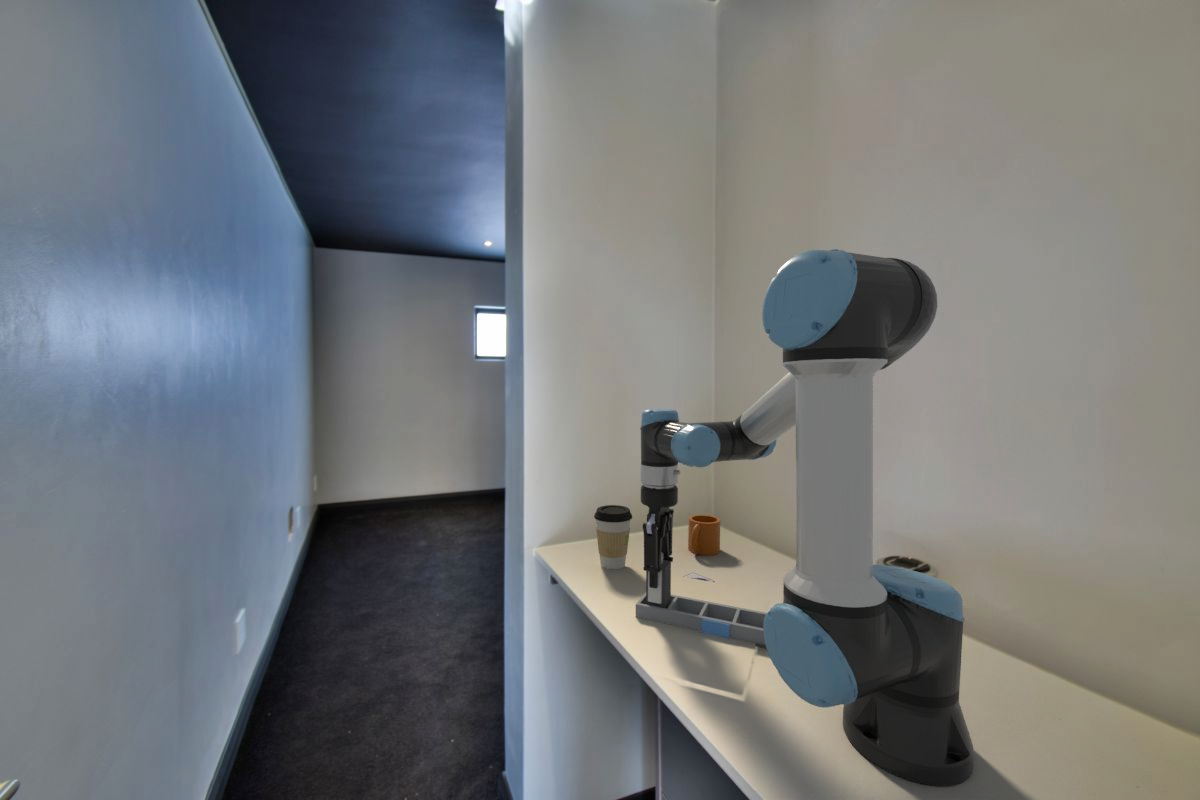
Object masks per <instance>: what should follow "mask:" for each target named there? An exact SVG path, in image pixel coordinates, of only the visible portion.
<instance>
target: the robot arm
mask: <svg viewBox="0 0 1200 800" xmlns="http://www.w3.org/2000/svg"><path fill="white" fill-rule="evenodd" d="M761 310H762V312H761V317H762V318H761V319H762V326H763V329H764V332H765V333H766V334H767V335H768V338H769V339H770V341H771V342H772V343H773V344H775V345H776V346H778V347H779V348H782V366H783V367H784V368H785V369H786V370H787V371H788V373H787V374H785V375H784V376H783V377H782V378H781V379H780V380H779V381H778V382H776V383H775V384H774V385H773V386H772V387H770V389H769V390H768V391H766V392H765V393H764V394H763V395H762V396H761V397H760V398H758V399H757V400H756V402H754V403H753V404H752V405H751V406H749V408H746V409H747V410H745V411H744V412H743V413H742V414H740V415H739V416H738V417H737V418H736V419H734V420H732V421H708V422H681V421H680V418H679V413H678V411H677V410H676V409H670V408H648V409H645V410H643V412H642V413H641V423H640V424H641V425H640V427H639V428H640V460H641V461H640V483H641V484H642V485H641V486H640V502H641V504H642V505H644V506H646V507H648V513H647V514H646V522H643V523H642V532H643V568H642V569H643V570H644V571H645V572H646V571H648V601H649V602H654V603H659V604H661V603H662V571H661V569H660V566H661V552H662V553H663V560H666V561H671V563H673V561H674V557H671V556H672V555H673V525H674V524H673V523H674V522H673V519H674V513H675V510H674V509H673V507H675V506H676V505H677V504H678V502H679V501H678V499H679V496H678V495H679V488H678V486H677V484H678V477H679V475H681V470H680V469H678V465H679V463H680V464H682V465H683V466H687V467H692V468H693V467H694V468H695V467H696V468H706V467H708V466H710V465H711V464H713V463H718V462H719V463H720V462H726V461H727V462H730V461H742V460H743V461H745V460H747V461H749V460H751V461H754V460H758V459H760V458H761V459H762V458H767V457H769V456H770V455H771V454H772V453H773V452H774V449H775V447H776V446H777V440H778V439H779V438H780V437H782V436H783V435H784V434H786V433H787V432H789V431H790V430H791V429H792V428H793V427H795V536H796V537H795V566H794V567H793V568H792V569H791V570H789V571H788V572H786V574H784V576H783V581H782V582H783V590H782V593H783V599H782V600H783V602H782V603H776V604H774V605H773V606H772V607H770V610H768V611H766V612H765V613H766V616H765V618H764V624H763V631H764V639H765V644H766V647H767V648H766V650H767V652H768V656H769V657H770V661H771V662H772V665H773V666H774V668H776V671H777V672H778V675H779V676H780V678H781V679H782V681H783V682H784V684H786V686H787V687H789V689H790V690H791V691H792V692H793V693H794V694H795V695H797V696H798V697H799V698H800V699H802V700H803V701H805V702H806V703H808V704H810V705H812V706H815V707H818V708H832V707H836V706H837V707H838V706H840V705H843V709H842V729H843V732H844V733H845V735H846V736H845V737H847V739H848V740H849V742H850V743H851V744H852V745H853V747H854V748H855V749H856V750H857V751H858V753H860V754H861V755H863V756H864V757H865V758H866V759H867V760H869V761H870V762H872V763H873V764H874V765H876V766H878V767H879V768H881V769H883V770H885V771H887V772H888V773H891V774H893V775H895V776H898V777H900V778H903V779H905V780H908V781H912V782H915V783H919V784H923V785H930V786H937V787H938V786H939V787H941V786H942V787H943V786H944V787H946V786H954V785H958V784H961V783H964V782H965V781H966V780H968V779H969V778H970V776H971V775H972V773H973V771H974V759H975V758H974V756H975V755H974V753H975V752H974V751H975V750H974V745H973V741H972V738H971V736H970V731H969V729H968V726H967V722H966V720H965V717H964V713H963V711H962V707H961V704H960V703H961V702H960V687H961V686H960V685H961V670H962V669H961V668H962V667H961V666H962V650H963V649H962V648H963V630H964V622H965V617H964V611H963V610H964V608H963V607H964V605H963V598H962V595H961V594H960V593H959V591H958V590H957V589H956V588H955V587H953V586H952V585H951V584H949V583H947V582H946V581H944V580H941V579H939V578H937V577H934V576H931V575H930V574H926V573H923V572H919V571H915V570H912V569H908V568H904V567H899V566H894V565H887V564H874V563H873V560H874V559H873V557H874V555H873V550H874V546H873V545H874V544H873V542H874V541H873V538H874V537H873V535H874V534H873V533H874V530H873V529H874V528H873V527H874V526H873V525H874V524H873V523H874V522H873V521H874V520H873V518H874V515H873V514H874V511H873V509H874V506H873V505H874V503H873V502H874V501H873V500H874V497H873V493H874V492H873V491H874V490H873V489H874V488H873V487H874V486H873V485H874V483H873V482H874V479H873V478H874V476H873V475H874V470H873V467H874V466H873V465H874V464H873V463H874V462H873V461H874V460H873V459H874V458H873V457H874V456H873V453H874V451H873V449H874V447H873V446H874V443H873V442H874V441H873V439H874V437H873V436H874V434H873V433H874V431H873V428H874V424H873V423H874V415H873V414H874V413H873V412H874V408H873V407H874V405H873V403H874V397H873V396H874V394H873V393H874V390H873V389H874V385H873V384H874V382H873V381H874V376H875V375H876V373H878V372H880V371H883V370H885V369H886V368H887V367H889V366H891V365H892V364H893V363H895V362H896V361H898V360H899V359H901V357H903V356H904V355H906V354H907V353H908V352H910V351H911V350H912V349H913V348H914V347H915V346H916V345H918V344H919V343H920V342H921V341H922V339H923V338H924V337H925V336H926V334H928V332H929V331H930V329H931V327H932V325H933V323H934V320H935V319H936V315H937V310H938V293H937V291H936V287H935V285H934V283H933V281H932V279H931V278H930V277H929V275H928V273H926V272H925V270H923V269H922V268H920V267H919V266H918V265H916V264H914V263H912V262H911V261H907V260H904V259H900V258H896V257H895V258H894V257H883V256H877V255H871V254H870V255H869V254H861V253H855V252H850V251H849V252H848V251H847V250H844V249H839V248H838V249H835V248H834V249H829V250H826V249H825V250H824V249H812V250H806V251H802V252H800V253H798V254H796V255H794V256H792V257H791V258H790V259H788V260H787V261H786V262H784V264H783V265H782V266H781V267H780V268H779V269H778V270H777V273H776V275H775V276H774V277H773V278H771V281H770V283H769V285H768V287H767V290H766V291H765V295H764V297H763V304H762V308H761ZM671 507H672V508H671Z"/></svg>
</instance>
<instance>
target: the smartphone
mask: <svg viewBox="0 0 1200 800" xmlns="http://www.w3.org/2000/svg"><path fill="white" fill-rule="evenodd" d="M682 578H687V579H694V580H700V581H704V582H710V583H716V581H715V580H713V579H711V578H709V577H705V576H703V575H700V574H698V573H696V572H690V573H688V574H686V575H683V576H682Z"/></svg>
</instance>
